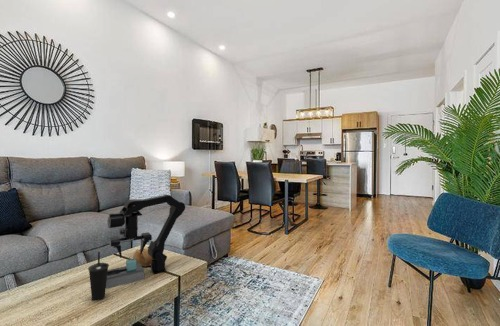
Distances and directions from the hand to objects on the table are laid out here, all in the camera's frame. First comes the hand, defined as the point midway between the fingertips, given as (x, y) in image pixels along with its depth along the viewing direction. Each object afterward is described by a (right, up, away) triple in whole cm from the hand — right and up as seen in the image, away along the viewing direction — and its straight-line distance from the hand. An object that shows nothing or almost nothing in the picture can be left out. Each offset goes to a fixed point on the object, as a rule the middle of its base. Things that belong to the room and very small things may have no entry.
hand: (130, 255), depth 127 cm
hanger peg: (0, -10, 0) cm, 10 cm away
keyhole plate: (-3, -11, -2) cm, 12 cm away
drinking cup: (-6, -12, -17) cm, 22 cm away
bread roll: (-2, -11, +18) cm, 22 cm away
